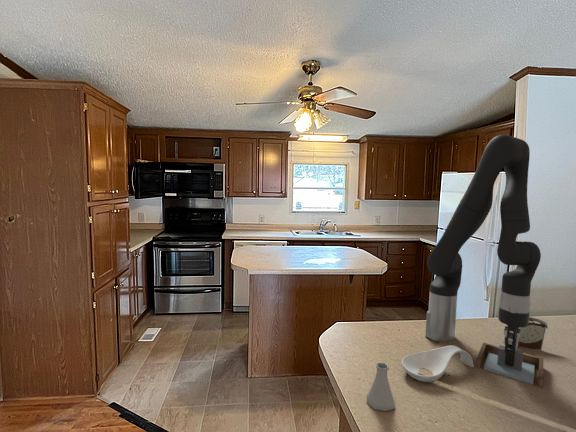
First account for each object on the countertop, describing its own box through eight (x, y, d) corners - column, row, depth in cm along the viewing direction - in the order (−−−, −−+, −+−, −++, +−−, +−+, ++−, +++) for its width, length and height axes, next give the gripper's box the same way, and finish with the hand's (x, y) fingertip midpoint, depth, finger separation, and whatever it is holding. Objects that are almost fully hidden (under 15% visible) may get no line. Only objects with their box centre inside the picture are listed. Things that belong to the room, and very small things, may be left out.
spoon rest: (420, 392, 89) (422, 367, 88) (392, 369, 100) (393, 347, 99) (484, 376, 97) (485, 353, 96) (451, 357, 108) (453, 336, 107)
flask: (362, 394, 87) (363, 358, 86) (388, 393, 88) (390, 357, 87) (371, 412, 80) (373, 373, 79) (400, 411, 81) (402, 372, 80)
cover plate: (483, 369, 99) (485, 350, 98) (488, 355, 107) (490, 337, 107) (533, 384, 91) (535, 364, 91) (534, 368, 100) (536, 349, 99)
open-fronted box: (475, 370, 100) (476, 357, 100) (482, 353, 110) (483, 342, 110) (542, 390, 90) (543, 377, 90) (542, 370, 100) (543, 358, 100)
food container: (534, 342, 119) (536, 315, 119) (545, 350, 113) (548, 322, 112) (498, 340, 121) (500, 313, 120) (508, 348, 115) (510, 320, 114)
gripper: (501, 298, 105) (497, 350, 107) (496, 311, 94) (492, 368, 96) (530, 304, 101) (526, 358, 102) (528, 317, 90) (523, 377, 91)
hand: (509, 362), depth 99 cm, fingers closed on cover plate, 3 cm apart
